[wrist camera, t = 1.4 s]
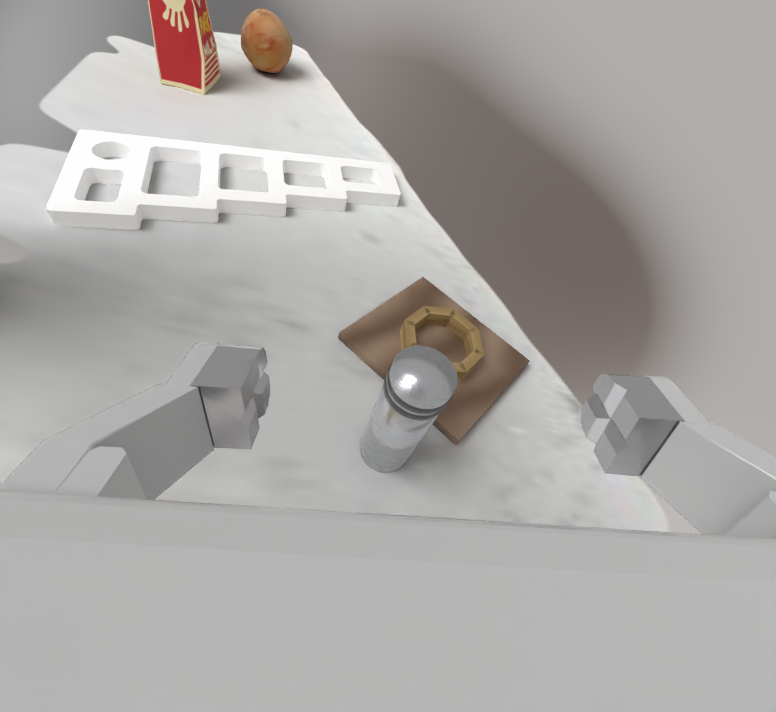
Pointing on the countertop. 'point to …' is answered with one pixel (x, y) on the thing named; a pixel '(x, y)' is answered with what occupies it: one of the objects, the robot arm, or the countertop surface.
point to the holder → (202, 182)
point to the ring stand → (439, 349)
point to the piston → (407, 406)
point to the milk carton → (184, 44)
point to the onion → (266, 41)
